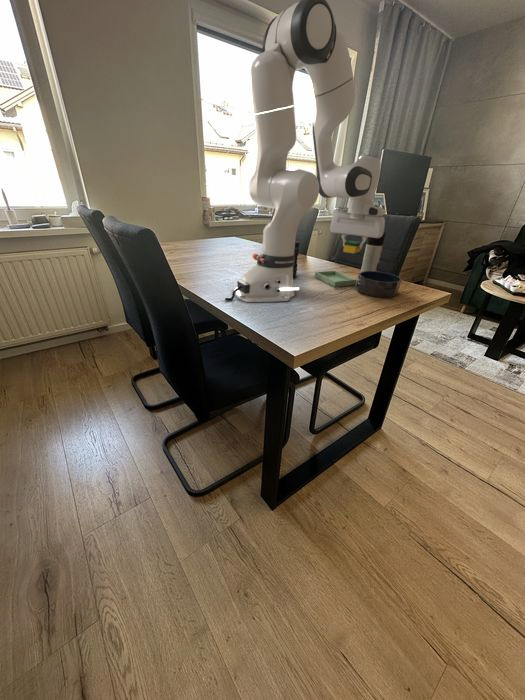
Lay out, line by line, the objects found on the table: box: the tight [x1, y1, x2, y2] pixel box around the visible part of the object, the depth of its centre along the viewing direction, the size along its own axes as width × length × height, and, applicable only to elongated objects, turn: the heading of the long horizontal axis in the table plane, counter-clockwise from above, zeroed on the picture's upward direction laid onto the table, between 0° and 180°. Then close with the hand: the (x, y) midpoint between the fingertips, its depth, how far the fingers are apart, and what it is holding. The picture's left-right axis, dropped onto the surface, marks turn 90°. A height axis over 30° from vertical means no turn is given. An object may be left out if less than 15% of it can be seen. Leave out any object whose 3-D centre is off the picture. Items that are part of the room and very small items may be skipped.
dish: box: [314, 270, 357, 288], centre depth 122 cm, size 11×15×2 cm
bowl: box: [355, 270, 403, 299], centre depth 110 cm, size 16×16×6 cm
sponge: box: [342, 240, 362, 254], centre depth 112 cm, size 7×5×4 cm, turn 145°
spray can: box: [360, 231, 387, 272], centre depth 121 cm, size 7×7×20 cm
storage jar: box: [293, 239, 300, 280], centre depth 122 cm, size 10×10×15 cm
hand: (352, 247), depth 112 cm, fingers closed on sponge, 4 cm apart
